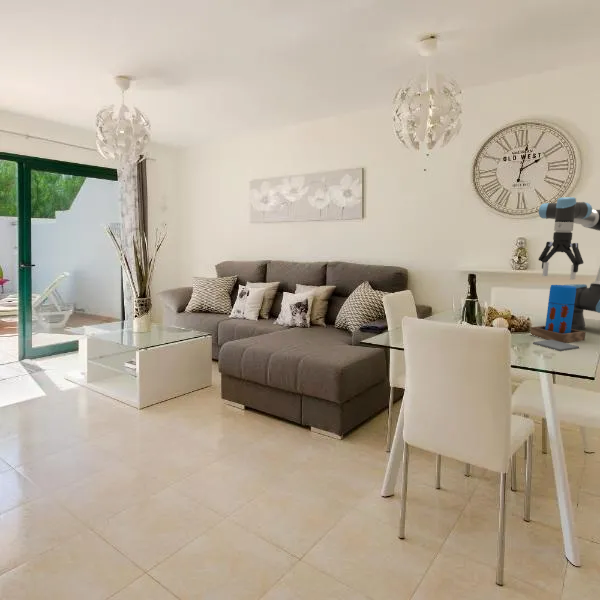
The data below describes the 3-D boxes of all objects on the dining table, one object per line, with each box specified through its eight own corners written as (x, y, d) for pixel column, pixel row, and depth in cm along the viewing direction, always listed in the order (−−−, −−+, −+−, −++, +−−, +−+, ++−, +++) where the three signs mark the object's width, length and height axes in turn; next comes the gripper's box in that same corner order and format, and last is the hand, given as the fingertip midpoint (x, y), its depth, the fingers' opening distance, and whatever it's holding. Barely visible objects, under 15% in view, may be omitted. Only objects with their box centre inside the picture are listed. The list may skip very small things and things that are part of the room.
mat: (551, 341, 211) (551, 339, 211) (578, 348, 200) (579, 346, 200) (532, 343, 205) (533, 342, 205) (560, 351, 194) (560, 349, 194)
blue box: (573, 341, 212) (580, 288, 208) (548, 339, 214) (555, 287, 210) (564, 335, 223) (571, 285, 218) (541, 334, 225) (547, 284, 221)
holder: (551, 332, 229) (552, 324, 229) (584, 340, 215) (585, 331, 214) (530, 335, 222) (531, 327, 221) (562, 343, 207) (563, 334, 207)
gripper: (533, 231, 217) (529, 275, 221) (585, 232, 195) (579, 281, 199) (543, 230, 221) (539, 274, 224) (595, 232, 199) (590, 280, 203)
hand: (558, 277), depth 212 cm, fingers open, 13 cm apart
